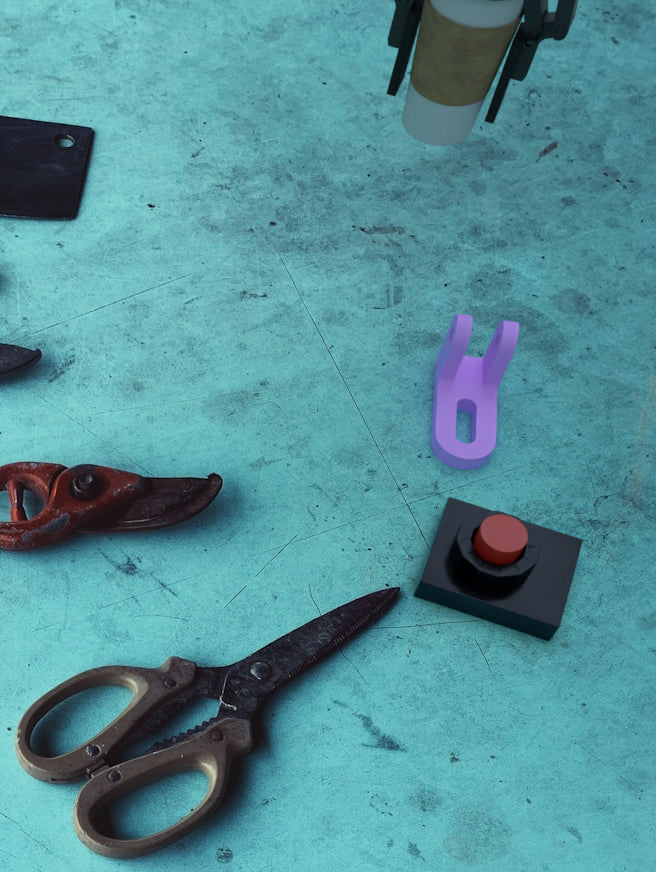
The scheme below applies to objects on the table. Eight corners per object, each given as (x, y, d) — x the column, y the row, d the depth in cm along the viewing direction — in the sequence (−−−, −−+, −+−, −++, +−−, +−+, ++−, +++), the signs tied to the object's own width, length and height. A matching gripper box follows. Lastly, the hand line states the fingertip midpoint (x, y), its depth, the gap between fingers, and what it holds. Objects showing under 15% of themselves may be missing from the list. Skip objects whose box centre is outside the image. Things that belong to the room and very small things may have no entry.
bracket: (435, 363, 116) (458, 304, 110) (492, 371, 116) (519, 313, 109) (429, 464, 110) (453, 409, 104) (490, 473, 110) (518, 418, 104)
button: (525, 536, 102) (532, 523, 101) (514, 571, 101) (522, 558, 99) (479, 521, 103) (486, 508, 101) (468, 556, 101) (475, 542, 100)
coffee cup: (488, 99, 103) (556, -96, 89) (484, 163, 99) (555, -31, 85) (390, 86, 103) (443, -110, 90) (382, 148, 99) (437, -46, 86)
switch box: (573, 555, 106) (592, 525, 102) (549, 642, 102) (568, 614, 98) (441, 512, 108) (455, 482, 104) (412, 596, 104) (426, 567, 100)
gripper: (716, -229, 78) (575, 106, 99) (415, -296, 82) (339, 42, 102) (696, -174, 75) (555, 160, 96) (383, -246, 79) (311, 92, 99)
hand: (443, 99), depth 99 cm, fingers closed on coffee cup, 8 cm apart
